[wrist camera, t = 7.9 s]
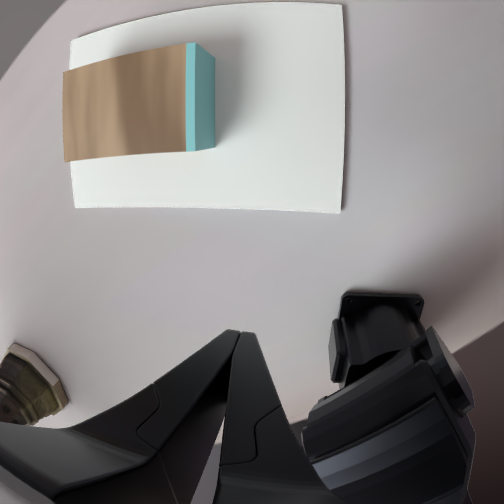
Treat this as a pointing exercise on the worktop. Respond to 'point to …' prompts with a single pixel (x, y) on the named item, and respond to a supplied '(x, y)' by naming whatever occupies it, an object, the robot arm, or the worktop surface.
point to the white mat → (237, 112)
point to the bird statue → (28, 388)
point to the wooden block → (140, 104)
